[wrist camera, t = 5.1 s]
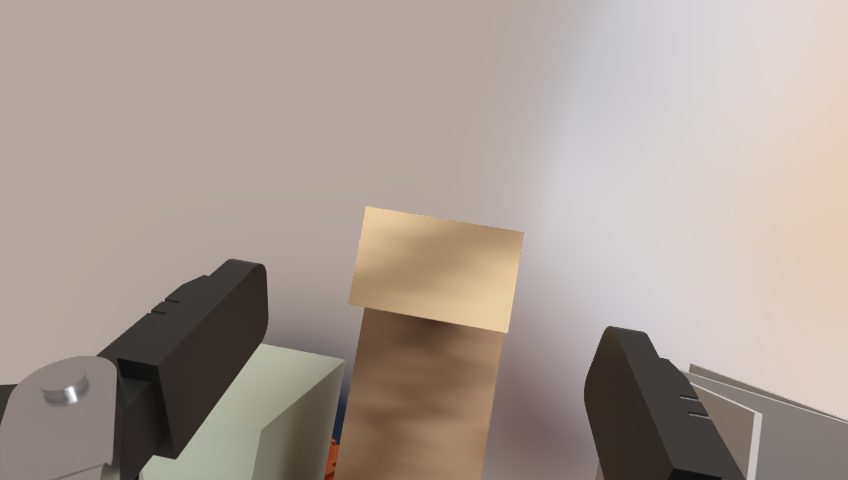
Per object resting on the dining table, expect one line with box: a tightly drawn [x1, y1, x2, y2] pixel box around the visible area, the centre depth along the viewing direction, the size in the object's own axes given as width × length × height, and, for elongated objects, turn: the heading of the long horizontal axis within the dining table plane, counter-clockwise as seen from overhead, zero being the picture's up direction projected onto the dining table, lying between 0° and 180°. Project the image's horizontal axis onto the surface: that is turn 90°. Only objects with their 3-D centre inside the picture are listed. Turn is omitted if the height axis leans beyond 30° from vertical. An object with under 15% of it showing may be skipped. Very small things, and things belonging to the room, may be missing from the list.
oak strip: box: [348, 207, 524, 333], centre depth 25 cm, size 4×28×2 cm, turn 177°
